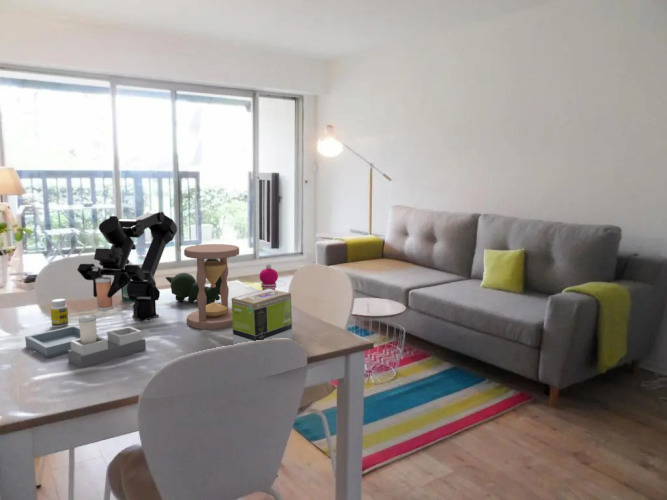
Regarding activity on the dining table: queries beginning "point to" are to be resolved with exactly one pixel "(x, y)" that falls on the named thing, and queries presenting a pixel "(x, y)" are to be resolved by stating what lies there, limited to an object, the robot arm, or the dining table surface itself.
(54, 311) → the supplement bottle
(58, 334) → the parts tray
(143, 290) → the robot arm
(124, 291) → the green container
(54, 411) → the dining table surface
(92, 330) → the cylinder
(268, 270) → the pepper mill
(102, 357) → the block
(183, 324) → the dining table surface
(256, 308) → the tea box
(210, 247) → the hourglass
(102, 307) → the marked fuse
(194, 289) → the toy figurine
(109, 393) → the dining table surface
